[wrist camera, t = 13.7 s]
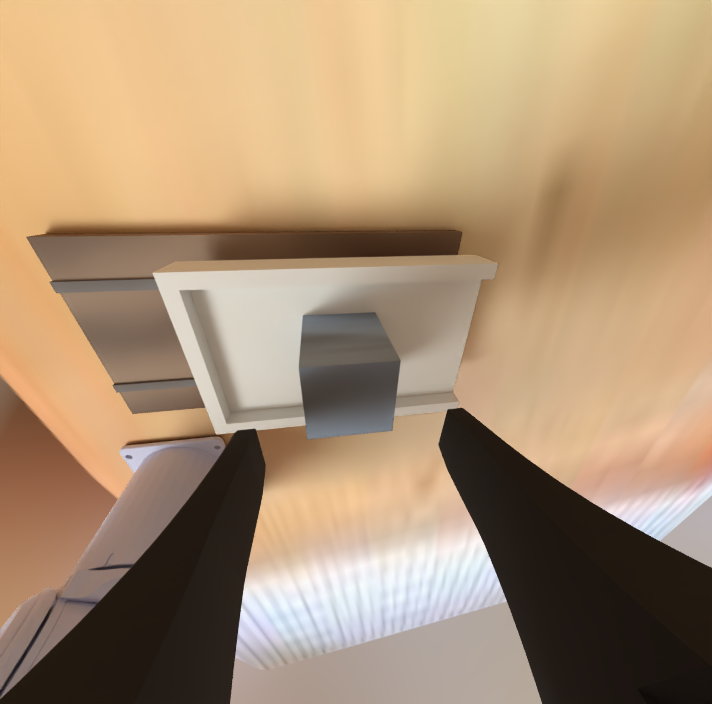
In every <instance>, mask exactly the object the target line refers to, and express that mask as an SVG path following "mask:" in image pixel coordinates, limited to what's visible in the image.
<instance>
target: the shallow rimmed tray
mask: <svg viewBox="0 0 712 704" xmlns="http://www.w3.org/2000/svg"><path fill="white" fill-rule="evenodd" d="M498 264H499V263H496V262H494V261H491V260H488V259H486V258H483V257H480V256H478V255H438V256H393V257H349V258H305V259H260V260H216V261H175V262H173V263H171V264H169V265H167V266H165V267H163V268H161V269H159V270H157V271H155V272H153V276H154V278H155V281H156V283H157V286H158V288H159V291H160V293H161V296H162V298H163V301H164V304H165V306H166V309H167V311H168V314H169V316H170V319H171V321H172V324H173V326H174V329H175V331H176V334H177V336H178V339H179V341H180V344H181V347H182V349H183V352H184V354H185V357H186V359H187V362H188V364H189V367H190V369H191V372H192V374H193V377H194V379H195V382H196V385H197V387H198V390H199V392H200V395H201V397H202V400H203V402H204V405H205V407H206V410H207V412H208V415H209V417H210V420H211V422H212V425H213V428H214V430H215V433H216V435H217V434H227V433H235V432H236V431H237V430H245V429H256V431H257V430H267V429H276V428H286V427H296V426H306V424H305V416H304V408H303V400H302V392H301V384H300V375H299V356H300V344H301V331H302V319H303V315H323V314H346V313H369V312H375V313H376V315H377V316H378V318H379V320H380V322H381V324H382V326H383V328H384V330H385V332H386V334H387V335H388V337H389V339H390V341H391V343H392V345H393V347H394V349H395V351H396V353H397V354H398V356H399V358H400V360H401V363H400V371H399V379H398V387H397V396H396V404H395V412H394V417H395V416H405V415H415V414H425V413H435V412H445V411H447V410H448V409H455V408H458V405H459V400H458V399H457V397H456V396H455V395H454V393H453V390H454V386H455V382H456V378H457V374H458V370H459V367H460V363H461V359H462V355H463V351H464V347H465V343H466V340H467V336H468V332H469V328H470V324H471V320H472V316H473V313H474V309H475V305H476V301H477V297H478V293H479V289H480V285H481V282H482V280H488V279H494V278H495V274H496V271H497V267H498Z"/></svg>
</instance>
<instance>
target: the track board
mask: <svg viewBox="0 0 712 704" xmlns="http://www.w3.org/2000/svg"><path fill="white" fill-rule="evenodd" d="M461 236H462V232H460V231H456V230H418V231H317V232H217V233H116V234H42V235H35V236H29V237H26V238H27V239H28V241H29V243H30V244H31V246H32V248H33V249H34V251H35V253H36V254H37V256H38V258H39V259H40V261H41V263H42V264H43V266H44V268H45V269H46V271H47V272H48V274H49V276H50V277H51V279H52V282H50V284H51V285H52V287H53V289H54V290H55V292H56V293H60V294H61V296H62V297H63V299H64V301H65V302H66V304H67V306H68V307H69V309H70V311H71V312H72V314H73V316H74V317H75V319H76V321H77V322H78V324H79V326H80V327H81V329H82V331H83V332H84V334H85V336H86V337H87V339H88V341H89V342H90V344H91V346H92V347H93V349H94V351H95V352H96V354H97V356H98V357H99V359H100V361H101V362H102V364H103V366H104V367H105V369H106V371H107V372H108V374H109V376H110V377H111V379H112V381H113V382H114V385H113V387H114V389H115V390H116V392H120V394H121V395H122V397H123V399H124V400H125V402H126V404H127V405H128V407H129V409H130V410H131V412H132V414H137V413H148V412H160V411H171V410H182V409H194V408H205V405H204V402H203V400H202V397H201V395H200V392H199V390H198V387H197V385H196V382H195V379H194V377H193V374H192V372H191V369H190V367H189V364H188V362H187V359H186V357H185V354H184V352H183V349H182V347H181V344H180V341H179V339H178V336H177V334H176V331H175V329H174V326H173V324H172V321H171V319H170V316H169V314H168V311H167V309H166V306H165V304H164V301H163V298H162V296H161V293H160V291H159V288H158V286H157V283H156V281H155V278H154V276H153V272H155V271H157V270H159V269H161V268H163V267H165V266H167V265H169V264H171V263H173V262H175V261H216V260H260V259H305V258H349V257H393V256H438V255H458V251H459V246H460V241H461Z"/></svg>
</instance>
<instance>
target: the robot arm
mask: <svg viewBox="0 0 712 704" xmlns="http://www.w3.org/2000/svg"><path fill="white" fill-rule="evenodd" d="M439 448H440V450H441V453H442V456H443V459H444V462H445V464H446V467H447V469H448V472H449V474H450V476H451V478H452V480H453V482H454V484H455V486H456V488H457V490H458V492H459V494H460V496H461V498H462V500H463V502H464V504H465V506H466V508H467V510H468V512H469V514H470V516H471V518H472V520H473V522H474V523H475V525H476V527H477V529H478V531H479V534H480V536H481V538H482V540H483V542H484V544H485V547H486V549H487V552H488V554H489V557H490V559H491V562H492V564H493V567H494V569H495V571H496V574H497V576H498V579H499V582H500V584H501V587H502V590H503V592H504V595H505V597H506V600H507V603H508V605H509V608H510V610H511V613H512V616H513V619H514V621H515V624H516V627H517V630H518V633H519V636H520V638H521V641H522V644H523V647H524V650H525V652H526V655H527V658H528V661H529V665H530V668H531V670H532V674H533V677H534V680H535V682H536V686H537V689H538V692H539V695H540V698H541V701H542V704H712V568H711V567H709V566H707V565H705V564H703V563H701V562H698V561H697V560H695V559H693V558H691V557H689V556H687V555H685V554H683V553H681V552H679V551H677V550H675V549H674V548H671V547H670V546H668V545H666V544H664V543H662V542H660V541H658V540H656V539H655V538H653V537H651V536H649V535H647V534H645V533H644V532H642V531H640V530H638V529H636V528H635V527H633V526H631V525H629V524H628V523H626V522H624V521H622V520H621V519H619V518H617V517H615V516H614V515H612V514H610V513H608V512H607V511H605V510H603V509H602V508H600V507H598V506H597V505H595V504H593V503H592V502H590V501H589V500H587V499H586V498H584V497H582V496H581V495H579V494H578V493H576V492H575V491H573V490H571V489H570V488H568V487H567V486H565V485H564V484H562V483H561V482H559V481H558V480H556V479H555V478H553V477H552V476H550V475H549V474H548V473H546V472H545V471H543V470H542V469H541V468H539V467H538V466H536V465H535V464H534V463H532V462H531V461H529V460H528V459H527V458H525V457H524V456H523V455H521V454H520V453H519V452H517V451H516V450H515V449H514V448H512V447H511V446H510V445H508V444H507V443H506V442H505V441H503V440H502V439H501V438H499V437H498V436H497V435H496V434H494V433H493V432H492V431H491V430H490V429H488V428H487V427H486V426H485V425H483V424H482V423H481V422H480V421H478V420H477V419H476V418H475V417H473V416H472V415H471V414H470V413H468V412H467V411H466V410H465V409H463V408H455V409H448V410H447V414H446V417H445V421H444V425H443V429H442V433H441V437H440V441H439ZM119 452H120V454H121V456H122V457H123V458H124V460H125V461H126V463H127V464H128V465H129V467H130V468H131V470H132V471H133V472H134V475H133V476H132V478H131V480H130V481H129V483H128V484H127V486H126V487H125V489H124V491H123V492H122V494H121V495H120V497H119V498H118V500H117V502H116V503H115V505H114V506H113V508H112V509H111V511H110V513H109V514H108V516H107V517H106V519H105V520H104V522H103V524H102V525H101V527H100V528H99V530H98V531H97V533H96V535H95V536H94V538H93V540H92V541H91V542H90V544H89V546H88V547H87V549H86V550H85V552H84V554H83V555H82V557H81V558H80V560H79V562H78V563H77V564H76V566H75V568H74V569H73V571H72V572H71V574H70V576H69V577H68V579H67V580H66V581H65V583H63V584H62V585H61V586H60V587H59V588H58V589H53V588H45V589H43V590H42V591H41V592H40V593H39V594H38V595H34V596H33V597H31V598H29V599H27V600H25V601H24V602H22V603H21V604H20V606H19V607H18V608H17V609H16V610H15V612H13V614H12V615H11V616H10V618H9V619H8V620H7V621H6V622H5V624H4V625H3V626H2V628H1V629H0V704H230V698H231V689H232V679H233V669H234V661H235V652H236V644H237V636H238V627H239V619H240V612H241V604H242V596H243V589H244V582H245V577H246V571H247V566H248V561H249V557H250V552H251V547H252V543H253V538H254V533H255V528H256V524H257V519H258V514H259V509H260V505H261V500H262V495H263V486H264V476H265V461H264V458H263V454H262V450H261V447H260V443H259V439H258V436H257V432H256V429H245V430H237V431H236V432H235V434H234V435H233V437H232V438H231V440H230V441H229V443H228V444H227V446H225V444H224V441H223V439H222V438H221V437H217V436H215V437H206V438H196V439H186V440H176V441H166V442H157V443H147V444H137V445H127V446H123V447H122V448H121V449H120V451H119Z"/></svg>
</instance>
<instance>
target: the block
mask: <svg viewBox="0 0 712 704" xmlns="http://www.w3.org/2000/svg"><path fill="white" fill-rule="evenodd" d="M400 363H401V360H400V358H399V356H398V354H397V353H396V351H395V349H394V347H393V345H392V343H391V341H390V339H389V337H388V335H387V334H386V332H385V330H384V328H383V326H382V324H381V322H380V320H379V318H378V316H377V315H376V313H375V312H369V313H346V314H323V315H303V319H302V331H301V344H300V356H299V375H300V384H301V392H302V400H303V408H304V416H305V424H306V432H307V439H317V438H327V437H336V436H346V435H356V434H365V433H375V432H385V431H392V428H393V420H394V412H395V404H396V396H397V387H398V379H399V371H400Z"/></svg>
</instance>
